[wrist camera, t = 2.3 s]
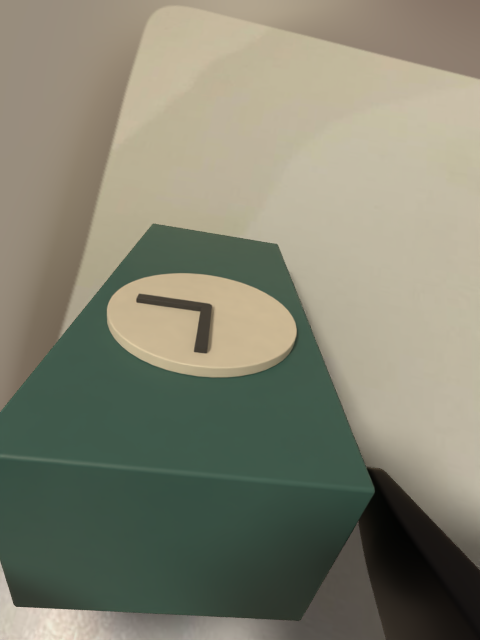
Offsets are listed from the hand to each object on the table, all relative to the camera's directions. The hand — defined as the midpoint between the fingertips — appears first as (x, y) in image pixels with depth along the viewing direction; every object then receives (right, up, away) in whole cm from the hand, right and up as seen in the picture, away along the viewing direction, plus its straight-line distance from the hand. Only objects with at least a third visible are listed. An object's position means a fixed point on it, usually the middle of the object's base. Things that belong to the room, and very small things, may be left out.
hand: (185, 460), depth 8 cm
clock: (-1, +1, +11) cm, 11 cm away
